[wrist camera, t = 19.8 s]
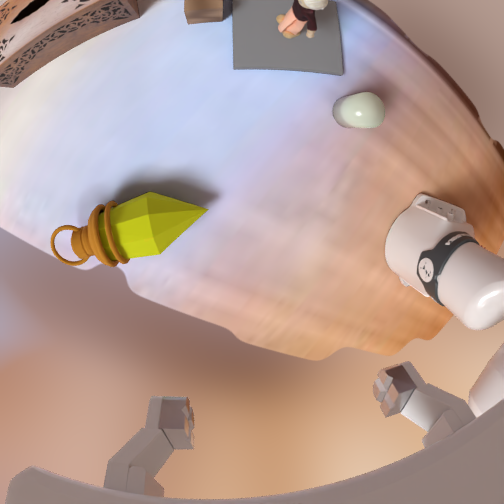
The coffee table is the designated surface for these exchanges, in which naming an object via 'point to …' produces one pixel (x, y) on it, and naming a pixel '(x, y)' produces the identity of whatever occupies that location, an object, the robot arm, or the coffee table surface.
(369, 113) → the sage green capsule
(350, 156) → the coffee table surface
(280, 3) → the slate mat
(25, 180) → the coffee table surface
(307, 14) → the grandmother figurine
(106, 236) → the plumb bob
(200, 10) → the walnut block
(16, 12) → the tissue box cover
